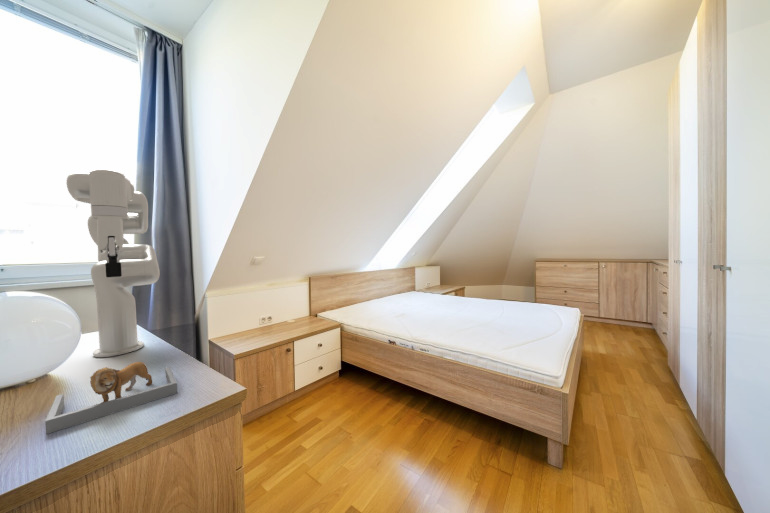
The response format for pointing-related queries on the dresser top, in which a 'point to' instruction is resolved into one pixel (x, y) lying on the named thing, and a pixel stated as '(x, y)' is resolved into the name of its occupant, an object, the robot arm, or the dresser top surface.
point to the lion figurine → (118, 379)
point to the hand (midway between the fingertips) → (114, 276)
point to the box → (106, 405)
